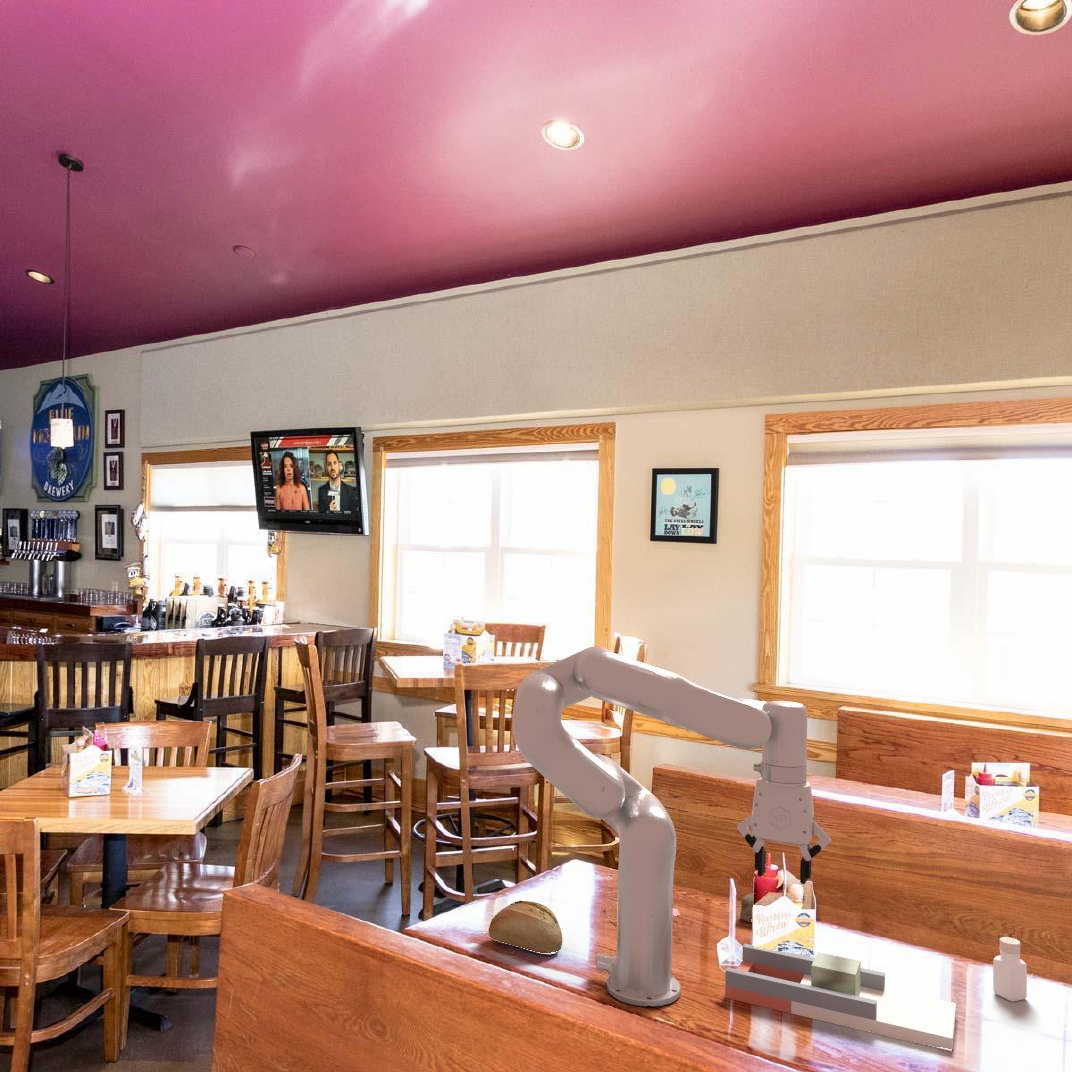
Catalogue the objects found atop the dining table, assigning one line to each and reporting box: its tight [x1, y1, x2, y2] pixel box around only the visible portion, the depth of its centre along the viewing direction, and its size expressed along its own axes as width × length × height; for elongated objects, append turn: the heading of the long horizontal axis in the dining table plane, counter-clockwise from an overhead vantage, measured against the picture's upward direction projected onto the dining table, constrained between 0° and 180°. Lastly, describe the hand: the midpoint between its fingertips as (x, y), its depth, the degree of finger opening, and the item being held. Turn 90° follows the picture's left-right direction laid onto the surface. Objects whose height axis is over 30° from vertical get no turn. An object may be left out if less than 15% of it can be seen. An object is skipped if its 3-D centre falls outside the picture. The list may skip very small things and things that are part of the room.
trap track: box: [724, 943, 957, 1050], centre depth 150 cm, size 35×13×4 cm, turn 63°
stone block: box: [739, 892, 755, 923], centre depth 187 cm, size 6×12×5 cm, turn 61°
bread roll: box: [488, 900, 563, 953], centre depth 172 cm, size 10×15×8 cm, turn 67°
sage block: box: [811, 952, 862, 996], centre depth 151 cm, size 7×6×5 cm
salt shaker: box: [992, 936, 1028, 1002], centre depth 156 cm, size 4×4×10 cm
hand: (782, 877), depth 156 cm, fingers open, 6 cm apart
